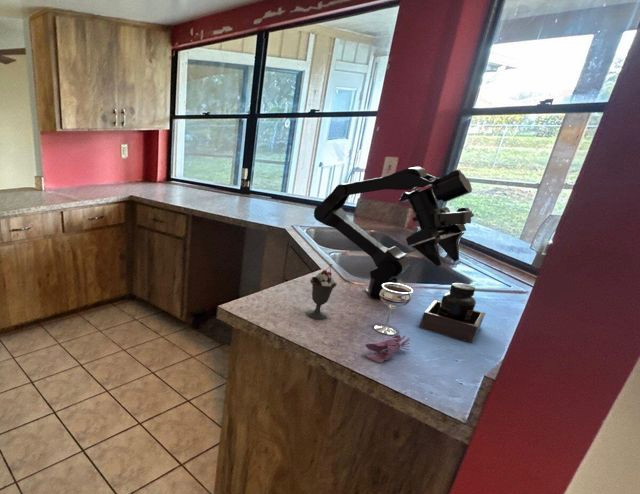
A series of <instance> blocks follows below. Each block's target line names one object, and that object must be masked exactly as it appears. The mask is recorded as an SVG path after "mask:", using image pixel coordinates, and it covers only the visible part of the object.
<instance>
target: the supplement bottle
mask: <svg viewBox="0 0 640 494" xmlns="http://www.w3.org/2000/svg"><path fill="white" fill-rule="evenodd" d="M475 291H476V287H475V286H473V285H470V284H467V283H462V282H454V283H451V285H450V288H449V291H448V292H445V293H444V294H443V296H442V298H441V301H440V302H441V304H440V307H439V310H438V313H437V315H440V316H443V317H447V318H451V319H454V320H458V321H462V322H465V323H469V321H470V319H471V316H472V313H473V310H475V306H476V304H477V301H476V299H475V297H473V296H475Z"/></svg>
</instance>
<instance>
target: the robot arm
mask: <svg viewBox="0 0 640 494" xmlns="http://www.w3.org/2000/svg"><path fill="white" fill-rule="evenodd" d="M426 187H428V188H426ZM416 188H417V189H416ZM422 188H425V189H422ZM413 189H415V190H413ZM383 190H390V191H391V190H392V191H394V190H395V191H403V192H402V194H401V196H400V198H399V199H398V202H399V203H406V202H409V205H410V208H411V210H412V213H413V215H414V217H412V221H413V222H414V223H415V222H417V225H418V227H419V230H418V231H415V232H411V233H409V234H407V236H406V238H405V241H406V243H407V246H411V247H412V248H413V249H415V250H416V251H418V252H419V253H421V254H422V255H423V256H424V257H426V259H428V260H429V261H430V262H432V263H433V264H434V265H435V266H436V267H440V266H442V258H441V255H440V251H439V250H440V249H439V247H438V245H439V246H440V247H441V249H442V250H443V251H444V252H445V253H446V255H448V257H450V259H451V260H452V261H453V262H457V261H459V260H460V240H461V238H462V236H463V235H465V231H467V228H466V226H465V225H466V224H471V223H472V218H473V217H474V213H473V211H472V210H470V208H469V206H468V207H467V206H466V207H458V208H457V210H456V211H452V212H447V210H446V209H445V208H444V207H442V208H440V205H439V203H438V201H443V202H444V203H447V202H451V201H452V200H455V199H458V198H460V197H463V196H466V195H468V194H470V193H472V191H473V188H472V185H471V181H470V180H469V179H468V178H467V177H466V176H465V174H464V173H462V170H461V168H460V169H454V170H453V171H450V172H449V173H448V174H446V175H443V176H440V177H436V176H434V175H431V174H429V173H428V172H427V171H426V169H425V168H423V167H421V166H414V167H408V168H405V169H402V170H399V171H396V172H394V173H390V174H388V175H385V176H381V177H375V178H370V179H365V180H360V181H354V182H345V183H340V184H337V185H336V187H335V188H334V189H333V191H331V193H329V195H327V197H326V198H324V199H323V201H322V202H321V203H320V204H319V205H316V207H315V208H314V210H313V217H314V219H315V220H316V221H317V222H319V223H320V224H322V225H324V226H327V227H330V228H333V229H336V230H337V231H338V232H339V233H341V234H342V235H343V236H344V237H345V238H346V239H348V240H350V241H351V242H352V243H353V244H354V245H356V246H357V248H359V249H360V250H361V251H363V252H364V253H365V254H367V256H369V257H370V258H371V259H372V261H373V263H374V264H375V266H376V267H375V268H374V269H372V270H370V271H369V274H370V275H369V276H370V280H369V283H368V288H366V289H365V292H366V293H367V294H368V296H369V297H370V298H371V299H378V300H381V299H380V291H381V290H382V289H383V286H382V285H383V284H385V283H396V284H398V278H397V277H398V276H400V275H402V274H403V273H404V272H406V271H408V270H409V268H410V266H411V261H410V260H411V259H409V257H408V253H407V252H406V253H405V252H404V251H402V250H401V249H400V248H399V247H398V246H397V245H394V246H392V247H386V246H385V245H383V244H382V243H381V242H379V241H378V240H376V239H375V238H374V237H373V236H371V235H370V234H369V233H368V232H366V231H365V230H363V229H362V228H361V227H359V225H358V224H356V223H355V222H353V221H352V220H350V219H349V218H348V216H347V214H346V212H345V210H344V209H343V206H344V205H345V204H346V202H347V200H348V199H349V196H352V195H358V194H364V193H372V192H377V191H383ZM408 190H409V191H410V190H412V191H411V192H408Z"/></svg>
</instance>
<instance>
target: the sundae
mask: <svg viewBox="0 0 640 494" xmlns="http://www.w3.org/2000/svg"><path fill="white" fill-rule="evenodd" d="M332 266H333V264H332V263H330V264H329V266H328V268H329V271H327V270H328V268H326V269H323V270H322V271H320V272H319V273H317V274H316V276H312V277H311V279H310V280H309V282H310V284H311V285H312V286H311V287H312V288H311V298H312V302H313V303H315V304H316V306H315V309H314V310H309V311H308V312H307V313H306V314H307V316H308V317H310V318H311V319H315V320H325V319H326V318H327V315H326V314H325V313H324V312H321V307H322V305H325V304H326V303H328V301H329V299H330V297H331V294H332V292H333V289H334V288H336V287H337V285H338V283H337V282H335V279H334V278H333V276H332V275H333V273H332V272H331V271H332Z"/></svg>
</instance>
